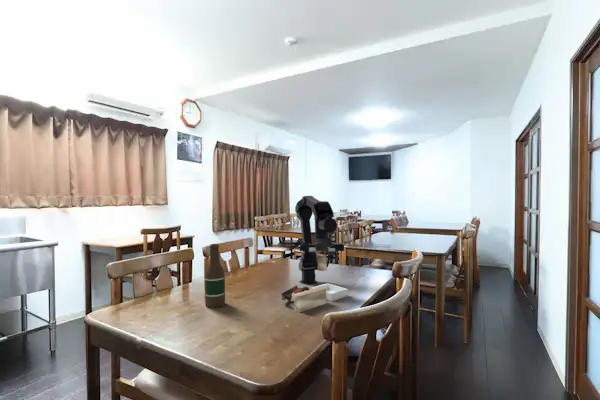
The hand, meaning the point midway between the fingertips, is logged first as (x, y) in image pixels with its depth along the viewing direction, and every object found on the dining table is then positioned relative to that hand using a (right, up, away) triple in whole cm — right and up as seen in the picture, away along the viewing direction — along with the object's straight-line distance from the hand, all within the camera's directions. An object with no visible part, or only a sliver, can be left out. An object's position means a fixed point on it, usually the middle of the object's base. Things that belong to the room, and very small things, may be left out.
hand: (322, 267), depth 134 cm
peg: (0, -1, 0) cm, 1 cm away
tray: (+3, -12, -1) cm, 12 cm away
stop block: (-5, -12, -14) cm, 20 cm away
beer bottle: (-43, -13, -11) cm, 46 cm away
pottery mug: (-11, -13, -11) cm, 20 cm away
